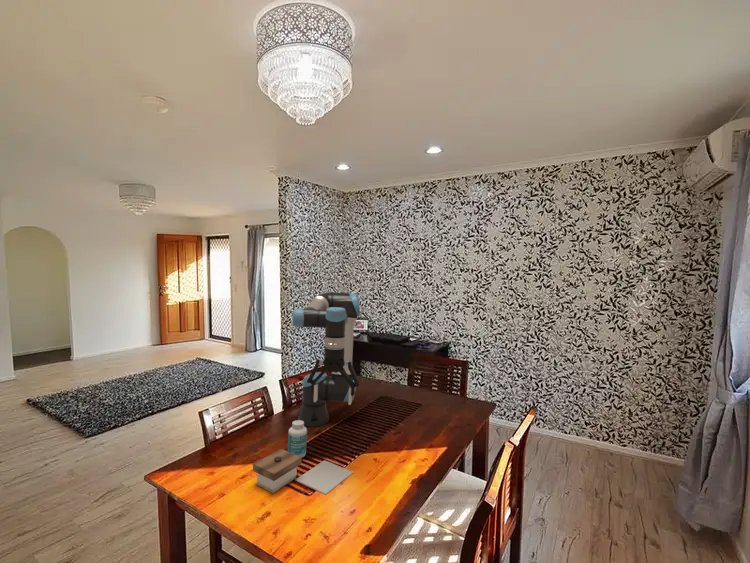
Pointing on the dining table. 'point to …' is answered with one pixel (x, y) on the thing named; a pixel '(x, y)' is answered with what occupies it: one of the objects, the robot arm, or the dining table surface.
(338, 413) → the dining table surface
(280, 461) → the cover
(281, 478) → the dish
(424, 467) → the dining table surface
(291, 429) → the pill bottle
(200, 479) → the dining table surface
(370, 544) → the dining table surface
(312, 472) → the mat
